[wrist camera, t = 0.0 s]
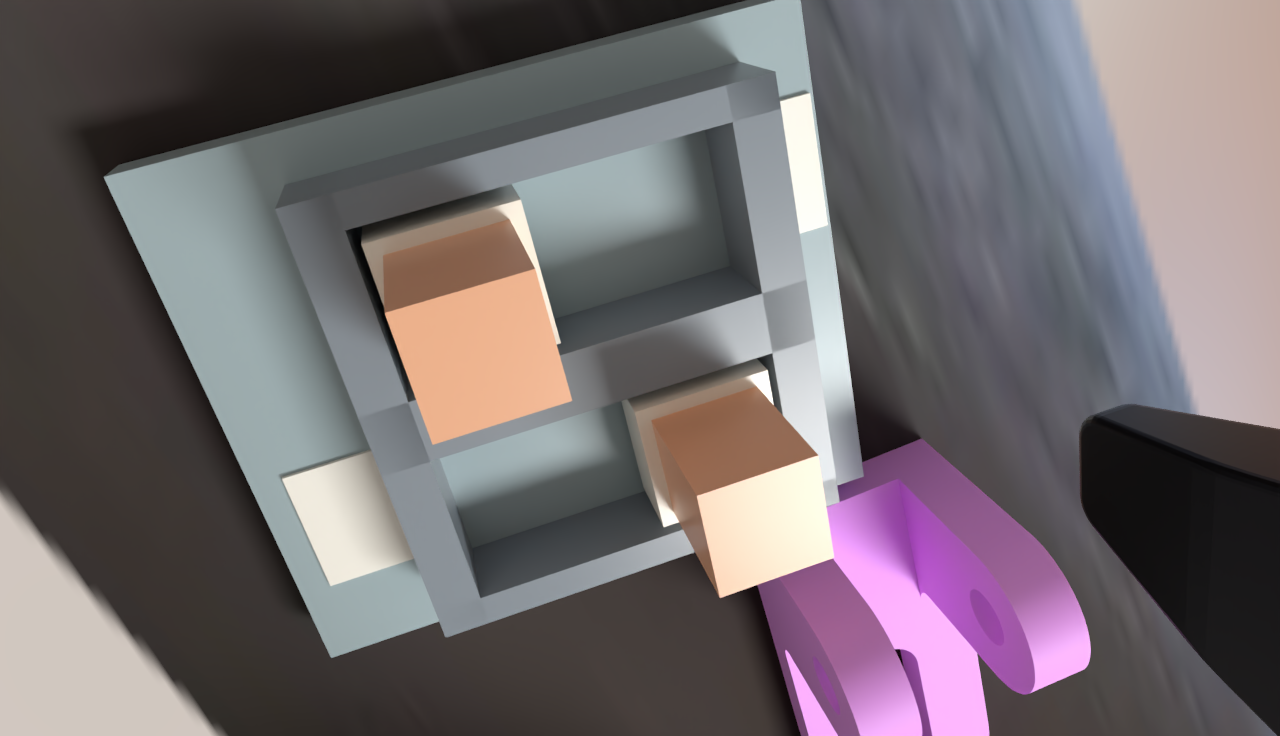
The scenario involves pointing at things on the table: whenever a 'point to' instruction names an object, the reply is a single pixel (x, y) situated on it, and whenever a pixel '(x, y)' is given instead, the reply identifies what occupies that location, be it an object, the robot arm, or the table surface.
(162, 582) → the table surface
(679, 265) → the switch plate
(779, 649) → the bracket
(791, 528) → the tab
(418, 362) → the tab
